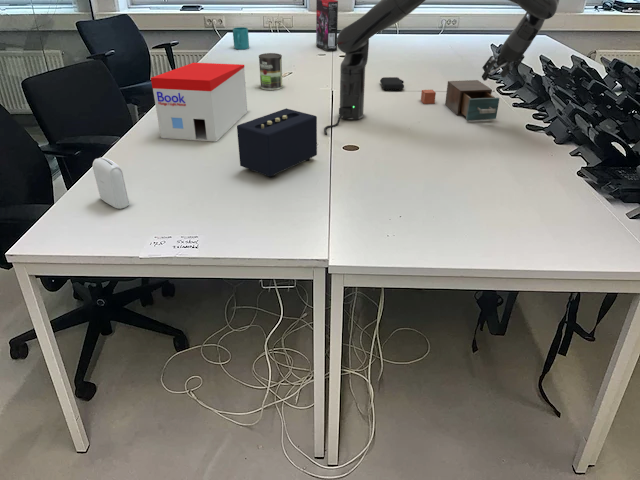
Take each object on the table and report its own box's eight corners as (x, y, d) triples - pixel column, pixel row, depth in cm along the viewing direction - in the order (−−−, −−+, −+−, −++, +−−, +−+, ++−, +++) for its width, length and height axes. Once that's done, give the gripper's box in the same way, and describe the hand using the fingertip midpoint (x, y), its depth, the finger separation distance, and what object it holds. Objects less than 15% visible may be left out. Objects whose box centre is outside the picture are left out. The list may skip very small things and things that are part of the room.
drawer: (501, 122, 196) (505, 102, 192) (471, 124, 195) (474, 103, 191) (482, 108, 211) (485, 88, 207) (454, 109, 210) (457, 89, 206)
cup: (231, 50, 313) (229, 30, 307) (236, 46, 323) (234, 27, 318) (246, 50, 312) (245, 30, 307) (250, 46, 323) (249, 27, 317)
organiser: (488, 114, 208) (492, 89, 203) (457, 115, 206) (460, 90, 201) (474, 103, 220) (477, 79, 215) (445, 104, 219) (447, 81, 214)
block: (434, 103, 220) (435, 92, 218) (423, 103, 220) (424, 92, 217) (431, 100, 224) (432, 89, 222) (420, 100, 224) (421, 89, 221)
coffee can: (275, 91, 237) (273, 58, 230) (256, 88, 241) (254, 56, 234) (287, 85, 245) (286, 54, 238) (268, 83, 249) (266, 52, 242)
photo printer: (98, 199, 145) (87, 156, 138) (112, 194, 147) (103, 152, 141) (117, 211, 139) (107, 167, 132) (132, 205, 141) (122, 162, 135)
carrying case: (406, 91, 236) (402, 82, 249) (407, 84, 234) (402, 76, 247) (382, 91, 236) (379, 83, 249) (383, 84, 234) (379, 76, 247)
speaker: (287, 150, 175) (286, 105, 168) (317, 159, 168) (317, 113, 161) (239, 170, 161) (235, 122, 153) (270, 181, 154) (267, 132, 146)
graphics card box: (315, 46, 322) (315, -3, 308) (325, 45, 325) (325, -3, 311) (327, 52, 309) (327, 1, 295) (338, 50, 311) (338, 0, 297)
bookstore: (160, 138, 186) (150, 77, 175) (199, 108, 215) (192, 55, 204) (216, 142, 182) (209, 80, 171) (247, 111, 212) (243, 57, 201)
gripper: (506, 54, 173) (482, 88, 188) (539, 49, 178) (513, 82, 193) (495, 37, 176) (472, 72, 190) (528, 32, 181) (503, 66, 195)
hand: (493, 77), depth 191 cm, fingers open, 8 cm apart
